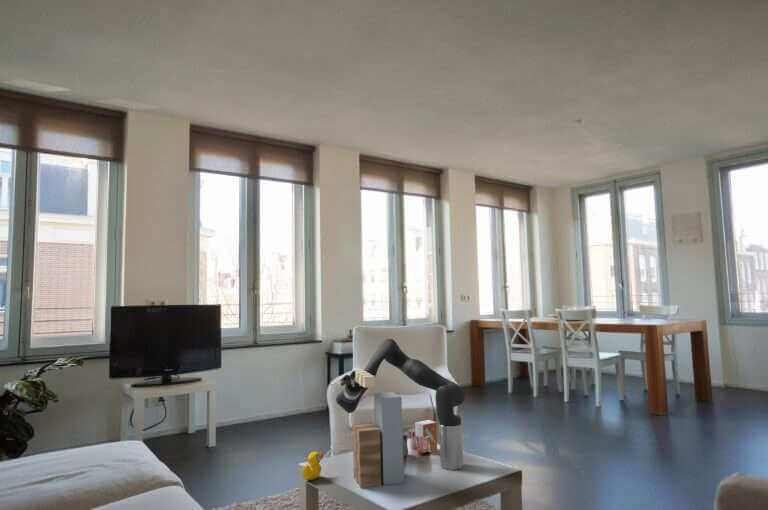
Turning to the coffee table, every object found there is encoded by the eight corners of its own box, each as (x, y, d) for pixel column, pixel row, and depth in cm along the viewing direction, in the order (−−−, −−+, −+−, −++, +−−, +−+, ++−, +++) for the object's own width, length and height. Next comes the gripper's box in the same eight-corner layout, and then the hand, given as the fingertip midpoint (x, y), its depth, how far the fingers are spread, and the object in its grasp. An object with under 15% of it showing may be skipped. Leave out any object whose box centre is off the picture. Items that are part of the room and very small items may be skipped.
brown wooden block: (353, 477, 198) (352, 424, 200) (373, 475, 200) (372, 422, 202) (360, 488, 186) (359, 431, 188) (381, 485, 188) (379, 429, 190)
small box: (424, 454, 226) (423, 424, 227) (415, 451, 231) (414, 422, 232) (437, 451, 230) (436, 421, 232) (429, 447, 236) (428, 419, 237)
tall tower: (375, 474, 200) (373, 393, 203) (394, 472, 202) (392, 391, 205) (383, 485, 188) (381, 398, 192) (403, 482, 191) (401, 396, 194)
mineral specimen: (390, 451, 230) (393, 433, 230) (408, 456, 227) (411, 438, 227) (385, 455, 223) (388, 437, 223) (403, 460, 220) (407, 442, 220)
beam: (352, 379, 209) (352, 369, 210) (361, 378, 210) (361, 369, 211) (364, 387, 188) (364, 376, 189) (374, 386, 189) (374, 376, 190)
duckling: (316, 473, 204) (316, 447, 205) (327, 475, 201) (327, 449, 202) (298, 482, 194) (298, 455, 195) (309, 484, 192) (309, 457, 193)
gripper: (336, 381, 219) (342, 365, 205) (367, 379, 222) (375, 363, 209) (337, 397, 214) (344, 382, 201) (369, 395, 218) (378, 380, 205)
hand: (360, 372), depth 205 cm, fingers closed on beam, 4 cm apart
